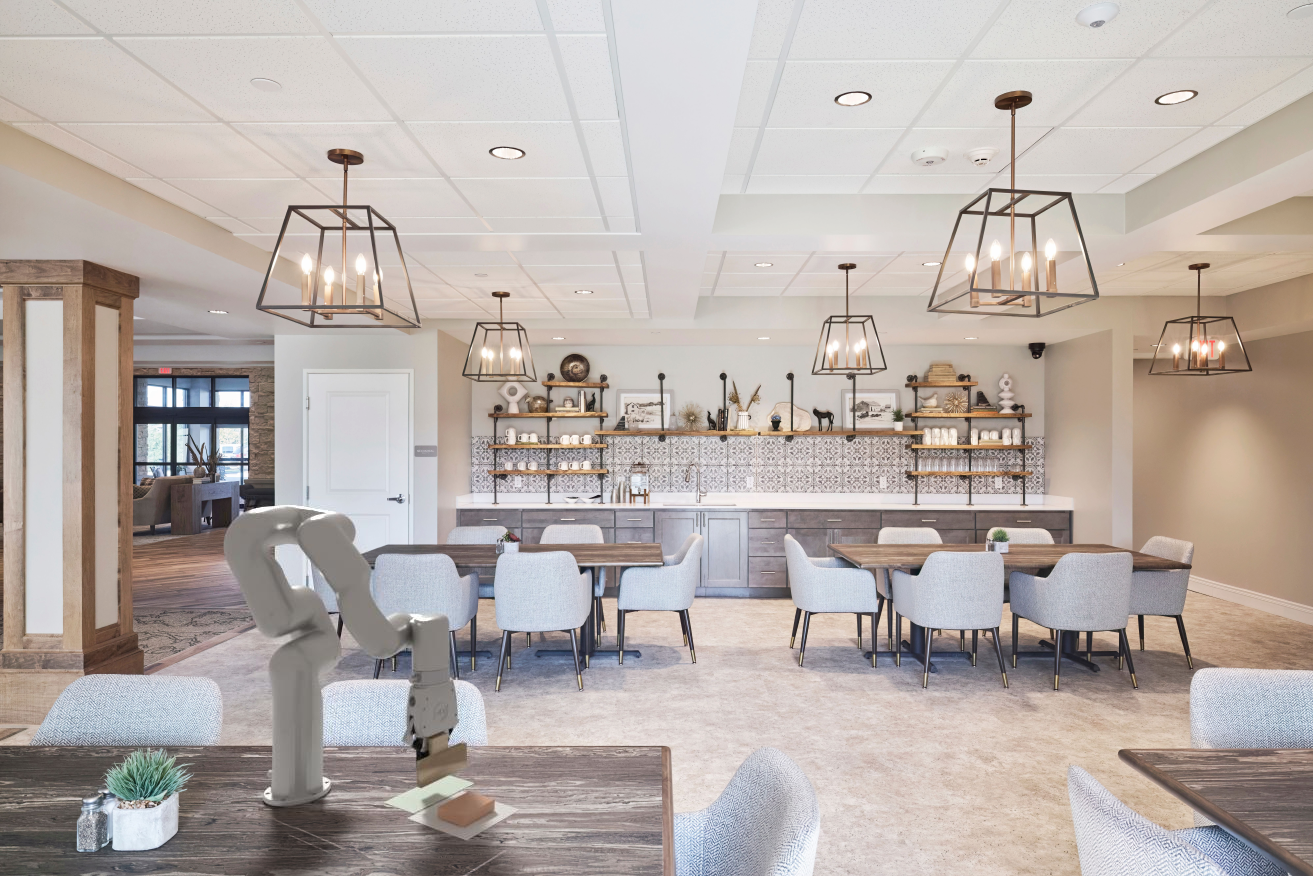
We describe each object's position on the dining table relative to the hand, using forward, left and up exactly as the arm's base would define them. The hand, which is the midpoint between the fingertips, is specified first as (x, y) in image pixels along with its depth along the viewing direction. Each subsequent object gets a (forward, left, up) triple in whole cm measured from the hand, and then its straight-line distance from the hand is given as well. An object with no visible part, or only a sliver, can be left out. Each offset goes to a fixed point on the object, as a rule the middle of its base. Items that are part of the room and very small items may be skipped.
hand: (431, 764), depth 154 cm
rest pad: (0, 0, -6) cm, 6 cm away
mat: (+13, -3, -6) cm, 14 cm away
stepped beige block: (0, 0, -2) cm, 2 cm away
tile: (+10, -3, -4) cm, 11 cm away
